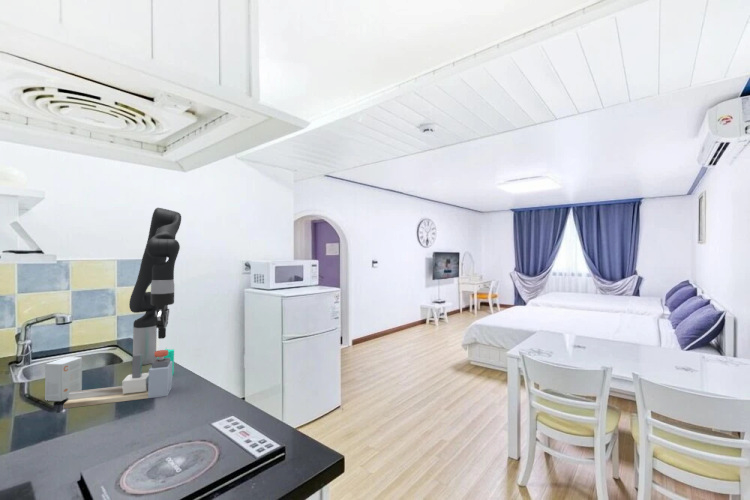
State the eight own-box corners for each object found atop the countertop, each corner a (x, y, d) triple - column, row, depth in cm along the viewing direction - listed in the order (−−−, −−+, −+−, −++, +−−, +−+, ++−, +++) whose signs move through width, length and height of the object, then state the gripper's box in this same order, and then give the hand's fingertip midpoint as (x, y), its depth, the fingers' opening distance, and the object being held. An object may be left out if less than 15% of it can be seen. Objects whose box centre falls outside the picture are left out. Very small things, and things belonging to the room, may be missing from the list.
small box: (66, 391, 127) (67, 356, 128) (82, 392, 127) (83, 357, 127) (43, 400, 119) (44, 363, 119) (61, 401, 119) (61, 364, 119)
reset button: (155, 359, 129) (155, 350, 129) (169, 358, 131) (169, 349, 131) (152, 363, 125) (153, 353, 125) (166, 361, 127) (166, 352, 127)
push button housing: (154, 388, 131) (154, 357, 131) (171, 386, 133) (172, 355, 133) (148, 398, 123) (148, 364, 123) (167, 395, 125) (168, 362, 125)
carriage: (128, 387, 127) (128, 353, 127) (150, 384, 130) (150, 351, 130) (122, 394, 120) (122, 358, 121) (145, 391, 123) (146, 356, 123)
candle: (176, 374, 146) (177, 346, 146) (161, 379, 141) (162, 349, 141) (169, 372, 149) (169, 344, 150) (154, 376, 144) (154, 347, 145)
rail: (75, 397, 122) (75, 388, 122) (154, 388, 131) (154, 379, 131) (63, 408, 114) (63, 397, 114) (148, 398, 123) (148, 388, 123)
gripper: (170, 293, 124) (170, 341, 123) (177, 289, 136) (176, 333, 136) (146, 294, 121) (145, 343, 121) (155, 290, 133) (154, 335, 133)
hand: (161, 338), depth 128 cm, fingers closed
